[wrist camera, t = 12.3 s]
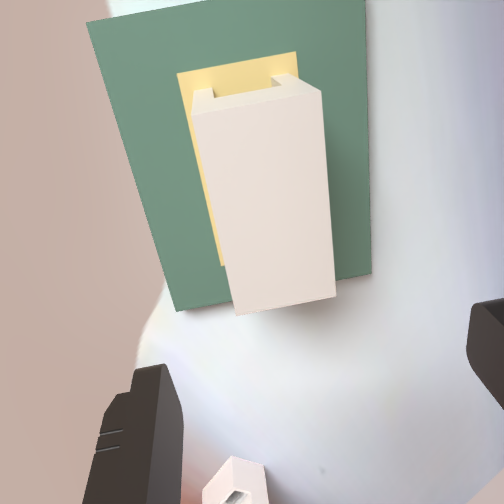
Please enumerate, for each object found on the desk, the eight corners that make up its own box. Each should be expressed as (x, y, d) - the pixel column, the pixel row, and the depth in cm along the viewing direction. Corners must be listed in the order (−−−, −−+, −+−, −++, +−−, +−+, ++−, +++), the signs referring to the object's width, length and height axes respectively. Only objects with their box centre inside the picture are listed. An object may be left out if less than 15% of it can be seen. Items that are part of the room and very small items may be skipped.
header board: (92, 22, 22) (68, 22, 18) (354, -26, 22) (387, -37, 18) (177, 299, 31) (173, 340, 27) (364, 263, 31) (387, 297, 27)
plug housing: (193, 90, 22) (190, 115, 16) (288, 73, 23) (321, 90, 16) (228, 250, 27) (236, 316, 21) (306, 235, 27) (336, 296, 21)
